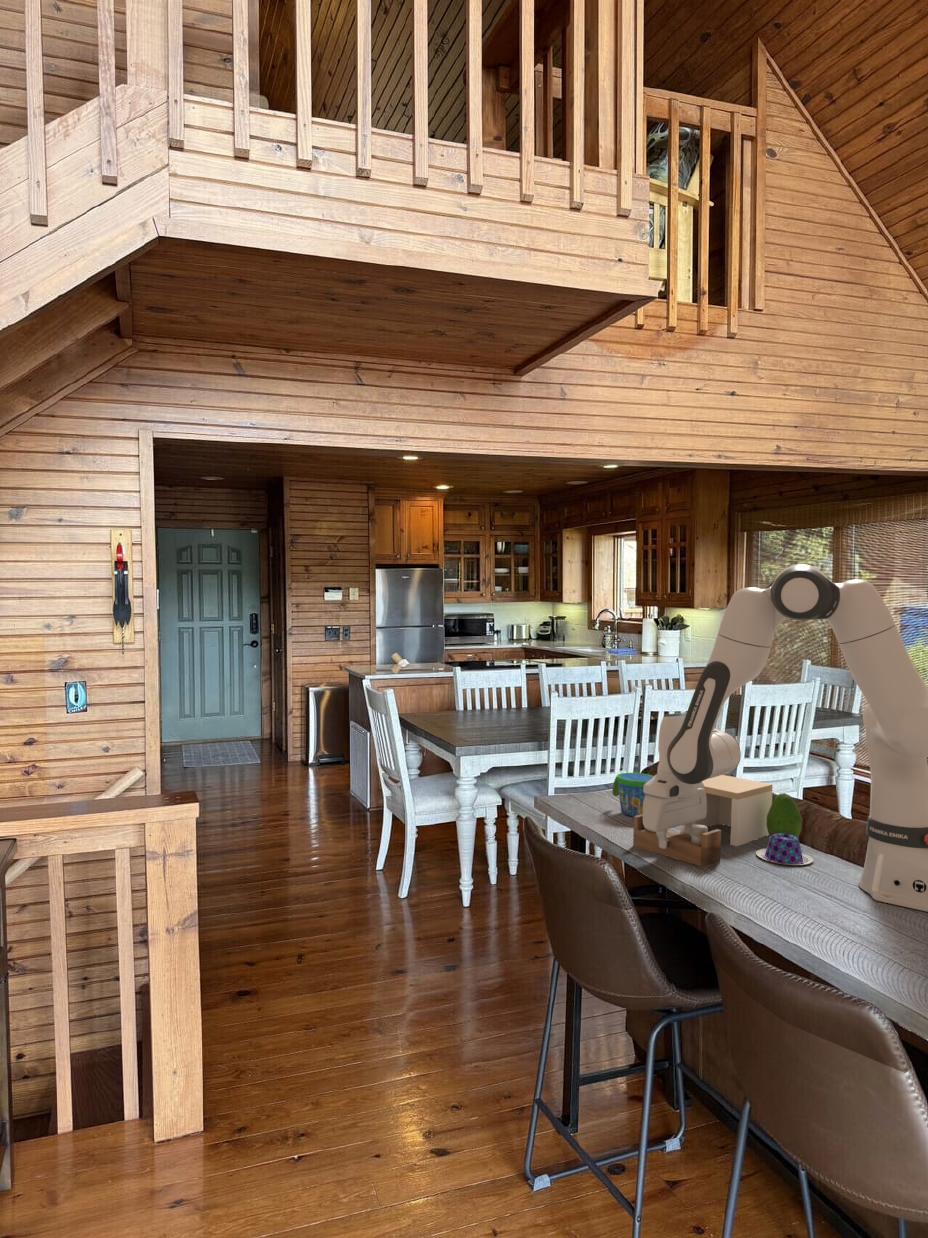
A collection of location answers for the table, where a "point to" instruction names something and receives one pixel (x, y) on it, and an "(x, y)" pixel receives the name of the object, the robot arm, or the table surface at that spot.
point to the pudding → (784, 850)
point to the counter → (737, 807)
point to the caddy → (681, 843)
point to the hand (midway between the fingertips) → (675, 844)
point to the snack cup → (631, 792)
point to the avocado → (784, 816)
